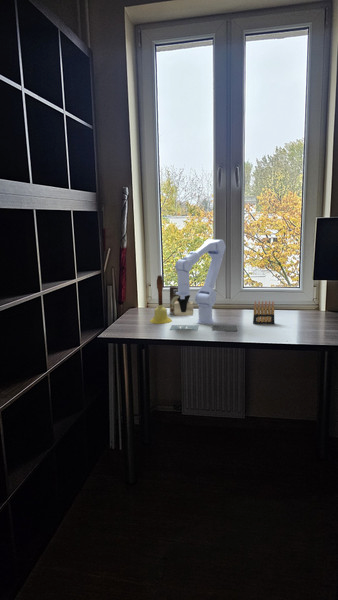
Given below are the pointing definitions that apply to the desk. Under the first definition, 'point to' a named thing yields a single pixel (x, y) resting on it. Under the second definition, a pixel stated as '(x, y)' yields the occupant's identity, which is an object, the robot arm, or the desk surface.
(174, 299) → the coffee box
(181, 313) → the maple block
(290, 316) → the desk surface
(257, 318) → the ammunition clip
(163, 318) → the handbell
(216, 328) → the rubber mat
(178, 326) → the blue-grey flat slab
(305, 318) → the desk surface
